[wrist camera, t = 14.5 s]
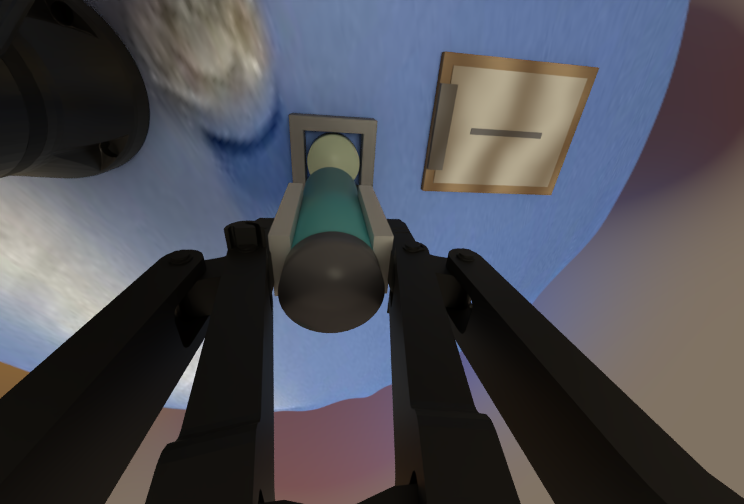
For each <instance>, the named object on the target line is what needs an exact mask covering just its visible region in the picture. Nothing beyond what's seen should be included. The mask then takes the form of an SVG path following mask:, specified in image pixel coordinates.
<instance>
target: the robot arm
mask: <svg viewBox="0 0 744 504" xmlns="http://www.w3.org/2000/svg"><path fill="white" fill-rule="evenodd" d="M148 126H149V103H148V97H147V93H146V89H145V86H144V83H143V80H142V77H141V75H140V72H139V70H138V68H137V66H136V64H135V62H134V60H133V58H132V57H131V55H130V53H129V52H128V50H127V48H126V47H125V45H124V44H123V43H122V41H121V40H120V38H119V37H118V36H117V35H116V33H115V32H114V31H113V30H112V28H111V27H110V26H109V25H108V24H107V23H106V22H105V21H104V20H103V19H102V18H101V17H100V16H99V15H98V14H97V13H96V12H95V11H94V10H93V9H92V8H91V7H90V6H88V5H87V4H86V3H85V2H84V1H82V0H0V178H2V177H6V176H10V175H11V176H30V177H49V178H83V177H90V176H94V175H98V174H101V173H104V172H107V171H109V170H112V169H115V168H117V167H119V166H121V165H123V164H125V163H126V162H128V161H129V160H130V159H132V158H133V157H134V156H135V155H136V153H137V152H138V151H139V150H140V148H141V146H142V145H143V143H144V140H145V138H146V135H147V131H148ZM358 198H359V202H360V205H361V209H362V213H363V216H364V220H365V224H366V227H367V231H368V235H369V238H370V242H371V246H372V249H373V251H374V253H375V255H376V257H377V259H378V262H379V265H380V269H381V272H382V276H383V279H384V284H385V293H387V288H388V284H389V287H390V294H389V302H388V309H387V313H389V316H390V342H391V369H392V395H393V420H394V447H395V486H393V487H391V488H389V489H387V490H385V491H383V492H380V493H378V494H376V495H375V496H372V497H370V498H368V499H366V500H364V501H362V502H360V503H357V504H521V503H520V500H519V498H518V495H517V492H516V489H515V486H514V483H513V480H512V477H511V474H510V471H509V468H508V465H507V462H506V459H505V456H504V453H503V450H502V447H501V444H500V441H499V438H498V435H497V433H496V430H495V427H494V425H493V423H492V421H491V419H490V418H489V417H488V416H487V415H486V414H481V413H479V412H478V411H477V410H476V407H475V405H474V402H473V398H472V395H471V392H470V388H469V385H468V382H467V378H466V375H465V372H464V368H463V365H462V361H461V358H460V355H459V351H458V348H457V345H456V342H457V343H458V345H459V347H460V348H461V350H462V352H463V353H464V355H465V356H466V358H467V360H468V361H469V363H470V365H471V366H472V368H473V370H474V371H475V373H476V375H477V376H478V378H479V379H480V381H481V383H482V384H483V386H484V388H485V389H486V391H487V393H488V394H489V396H490V398H491V399H492V401H493V403H494V404H495V406H496V408H497V409H498V411H499V412H500V414H501V416H502V417H503V419H504V420H505V422H506V424H507V426H508V427H509V429H510V431H511V432H512V434H513V435H514V437H515V439H516V440H517V442H518V444H519V445H520V447H521V449H522V450H523V452H524V454H525V455H526V457H527V459H528V460H529V462H530V463H531V465H532V467H533V468H534V470H535V471H536V473H537V475H538V477H539V478H540V480H541V482H542V483H543V485H544V487H545V488H546V490H547V492H548V493H549V495H550V496H551V498H552V500H553V501H554V503H555V504H744V498H742V497H741V496H739V495H738V494H737V493H735V492H734V491H733V490H731V489H730V488H728V487H727V486H726V485H724V484H723V483H722V482H720V481H719V480H718V479H716V478H715V477H713V476H712V475H711V474H709V473H708V472H707V471H706V470H705V469H703V467H701V466H700V465H699V464H698V463H697V462H696V461H695V460H694V459H693V458H692V457H691V456H690V455H689V454H688V453H687V452H686V451H685V450H684V449H683V448H681V446H680V445H678V444H677V443H676V442H675V441H674V440H673V439H672V438H671V437H670V436H669V435H668V434H667V433H666V432H665V431H663V429H662V428H661V427H660V426H659V425H658V424H656V423H655V422H654V421H653V420H652V419H651V418H650V417H649V416H648V415H647V414H646V413H645V412H644V411H643V410H642V409H641V408H639V406H638V405H637V404H635V403H634V402H633V401H632V400H631V399H630V398H629V397H628V396H627V395H626V394H625V393H624V392H623V391H622V390H621V389H620V388H619V387H618V386H617V385H615V384H614V383H613V382H612V381H611V380H610V379H609V378H608V377H607V376H606V375H605V374H604V373H603V372H602V371H601V370H600V369H599V368H598V367H597V366H596V365H595V364H594V363H592V362H591V361H590V360H589V359H588V358H587V357H586V356H585V355H584V354H583V353H582V352H581V351H580V350H579V349H578V348H577V347H576V346H575V345H574V344H572V343H571V342H570V341H569V340H568V339H567V338H566V337H565V336H564V335H563V334H562V333H561V332H560V331H559V330H558V329H557V328H556V327H555V326H554V325H553V324H552V323H550V322H549V321H548V320H547V319H546V318H545V317H544V316H543V315H542V314H541V313H540V312H539V311H538V310H537V309H536V308H535V307H534V306H533V305H532V304H531V303H530V302H528V301H527V300H526V299H525V298H524V297H523V296H522V295H521V294H520V293H519V292H518V291H517V290H516V289H515V288H514V287H513V286H512V285H511V284H510V283H509V282H508V281H506V280H505V279H504V278H503V277H502V276H501V275H500V274H499V273H498V272H497V271H496V270H495V269H494V268H493V267H492V266H491V265H490V264H489V263H488V262H487V261H485V260H484V259H483V258H482V257H481V256H480V255H479V254H477V253H476V252H473V251H471V250H469V249H464V248H462V249H458V248H457V249H452V250H451V251H449V254H448V258H444V257H438V256H434V255H430V254H429V250H428V248H427V247H426V246H425V245H423V244H422V243H419V242H416V241H415V240H414V238H413V236H412V234H411V233H410V231H409V229H408V227H407V225H406V224H405V223H404V222H402V221H401V220H399V219H386V217H385V215H384V213H383V210H382V208H381V206H380V203H379V201H378V199H377V197H376V194H375V192H374V190H373V187H372V185H359V187H358ZM302 200H303V183H289V184H288V186H287V189H286V191H285V194H284V196H283V199H282V201H281V204H280V206H279V209H278V211H277V214H276V216H275V218H259V219H257V220H256V221H239V222H235V223H231V224H229V225H227V226H226V227H225V228H224V233H225V238H226V243H227V248H228V251H227V255H226V256H224V257H220V258H215V259H209V260H204V257H203V254H202V253H201V252H199V251H197V250H180V251H174V252H172V253H170V254H167V255H165V256H164V257H162V258H160V259H159V260H158V261H157V262H156V263H155V264H154V265H152V266H151V267H150V268H149V269H148V270H147V271H146V272H144V273H143V274H142V275H141V276H140V277H139V278H138V279H136V280H135V281H134V282H133V283H132V284H131V285H130V286H128V287H127V288H126V289H125V290H124V291H123V292H122V293H120V294H119V295H118V296H117V297H116V298H115V299H114V300H112V301H111V302H110V303H109V304H108V305H107V306H106V307H104V308H103V309H102V310H101V311H100V312H99V313H98V314H96V315H95V316H94V317H93V318H92V319H91V320H90V321H88V322H87V323H86V324H85V325H84V326H83V327H82V328H80V329H79V330H78V331H77V332H76V333H75V334H74V335H72V336H71V337H70V338H69V339H68V340H67V341H66V342H64V343H63V344H62V345H61V346H60V347H59V348H58V349H56V350H55V351H54V352H53V353H52V354H51V355H50V356H48V357H47V358H46V359H45V360H44V361H43V362H42V363H40V364H39V365H38V366H37V367H36V368H35V369H34V370H32V371H31V372H30V373H29V374H28V375H27V376H26V377H25V378H23V380H21V381H20V382H19V383H18V384H16V385H15V386H14V387H13V388H12V389H11V390H10V391H8V392H7V393H6V394H5V395H4V396H3V397H2V398H1V399H0V504H105V503H106V501H107V499H108V497H109V496H110V494H111V493H112V491H113V489H114V487H115V486H116V484H117V483H118V481H119V479H120V478H121V476H122V474H123V473H124V471H125V469H126V468H127V466H128V464H129V463H130V461H131V459H132V458H133V456H134V454H135V453H136V451H137V449H138V448H139V446H140V444H141V443H142V441H143V439H144V438H145V436H146V434H147V433H148V431H149V429H150V428H151V426H152V424H153V423H154V421H155V419H156V418H157V416H158V414H159V413H160V411H161V410H162V408H163V406H164V405H165V403H166V401H167V400H168V398H169V396H170V395H171V393H172V391H173V390H174V388H175V386H176V385H177V383H178V381H179V380H180V378H181V376H182V375H183V373H184V371H185V370H186V368H187V366H188V365H189V363H190V361H191V360H192V358H193V356H194V355H195V353H196V351H197V350H198V348H199V347H200V345H201V343H202V342H203V340H204V338H205V340H204V343H203V347H202V351H201V355H200V359H199V363H198V367H197V370H196V374H195V378H194V382H193V386H192V390H191V393H190V397H189V401H188V405H187V409H186V413H185V417H184V420H183V424H182V429H181V432H180V434H179V437H178V439H177V440H176V441H175V442H172V443H169V444H167V445H166V447H165V448H164V449H163V451H162V453H161V455H160V458H159V460H158V463H157V465H156V469H155V472H154V476H153V479H152V482H151V485H150V489H149V492H148V495H147V499H146V502H145V504H302V503H296V502H292V501H287V500H280V501H275V493H274V378H273V298H272V290H273V287H274V293H275V296H278V285H279V281H280V277H281V273H282V269H283V265H284V261H285V259H286V257H287V255H288V253H289V252H290V250H291V247H292V243H293V238H294V234H295V230H296V225H297V221H298V217H299V212H300V208H301V204H302ZM471 300H472V303H471ZM455 340H456V341H455Z"/></svg>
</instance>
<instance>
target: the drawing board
mask: <svg viewBox="0 0 744 504" xmlns="http://www.w3.org/2000/svg"><path fill="white" fill-rule="evenodd" d="M598 70H599V68H597V67H587V66H578V65H568V64H559V63H549V62H539V61H530V60H520V59H511V58H501V57H492V56H482V55H473V54H463V53H454V52H442V56H441V63H440V69H439V76H438V82H437V88H436V95H435V101H434V108H433V114H432V121H431V127H430V134H429V140H428V147H427V153H426V159H425V166H424V172H423V179H422V185H421V189H422V190H423V191H445V192H475V193H505V194H535V195H551V194H552V191H553V189H554V186H555V183H556V181H557V178H558V175H559V173H560V170H561V167H562V165H563V162H564V160H565V157H566V154H567V152H568V149H569V146H570V144H571V141H572V138H573V136H574V133H575V131H576V128H577V125H578V123H579V120H580V117H581V115H582V112H583V109H584V107H585V104H586V101H587V99H588V96H589V94H590V91H591V88H592V86H593V83H594V80H595V78H596V75H597V72H598Z"/></svg>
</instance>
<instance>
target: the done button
mask: <svg viewBox="0 0 744 504" xmlns="http://www.w3.org/2000/svg"><path fill="white" fill-rule="evenodd" d="M307 165H308V170H309V172H310V174H312V173H313V172H315V171H316V170H318V169H321V168H324V167H335V168H339V169H341V170H344V171H345V172H347V173H348V174H349V175H350V176H351V177H352V179H353V180H354V179H355V178H356V176H357V174H358V171H359V165H360V163H359V156H358V153H357V151H356V149H355V146H354V144H353V143H352V142H351V140H350V139H349V138H347V137H346V136H344V135H342V134H340V133H336V132H329V133H325V134H322V135H320V136H319V137H318V138H316V139H315V141H314V142H313V144H312V145H311V148H310V151H309V154H308V158H307Z"/></svg>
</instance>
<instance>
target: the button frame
mask: <svg viewBox="0 0 744 504" xmlns="http://www.w3.org/2000/svg"><path fill="white" fill-rule="evenodd" d="M289 127H290V143H291V160H292V176H293V183H303V191H304V187H305V183H306V181H307V162H306V135H305V130H308V131H325V132H342V133H358V134H361V148H360V169H359V185H372V187H373V174H374V160H375V146H376V132H377V120H375V119H374V118H359V117H345V116H330V115H315V114H301V113H291V114H289ZM359 185H356V187H357V191H358V187H359Z"/></svg>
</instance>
